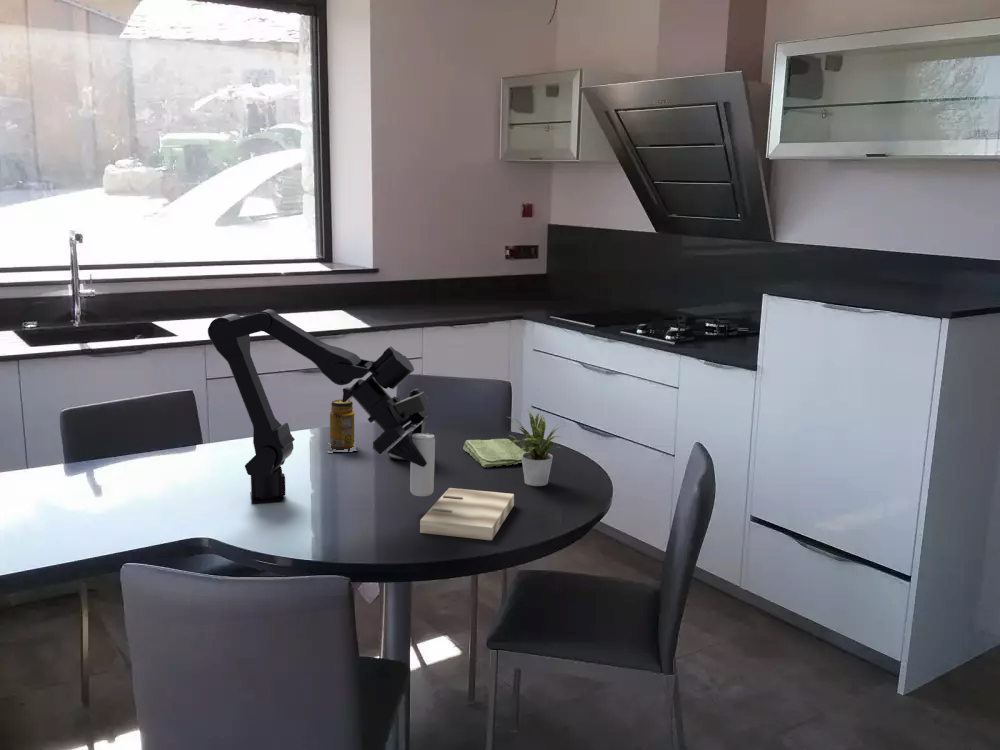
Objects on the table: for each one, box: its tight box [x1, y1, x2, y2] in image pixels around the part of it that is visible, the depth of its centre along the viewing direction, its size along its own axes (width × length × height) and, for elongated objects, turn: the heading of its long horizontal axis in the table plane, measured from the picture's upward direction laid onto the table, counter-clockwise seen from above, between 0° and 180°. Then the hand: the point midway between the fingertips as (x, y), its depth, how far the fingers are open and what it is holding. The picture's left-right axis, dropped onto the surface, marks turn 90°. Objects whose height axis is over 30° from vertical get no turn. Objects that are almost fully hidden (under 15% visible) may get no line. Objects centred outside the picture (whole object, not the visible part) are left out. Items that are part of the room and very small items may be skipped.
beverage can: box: [409, 432, 436, 497], centre depth 180 cm, size 5×5×12 cm
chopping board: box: [419, 487, 515, 541], centre depth 178 cm, size 20×14×3 cm
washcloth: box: [462, 438, 527, 469], centre depth 221 cm, size 13×18×3 cm
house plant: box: [507, 410, 566, 487], centre depth 201 cm, size 14×14×16 cm
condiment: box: [327, 398, 356, 454], centre depth 224 cm, size 7×8×12 cm
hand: (429, 461), depth 180 cm, fingers closed on beverage can, 5 cm apart
